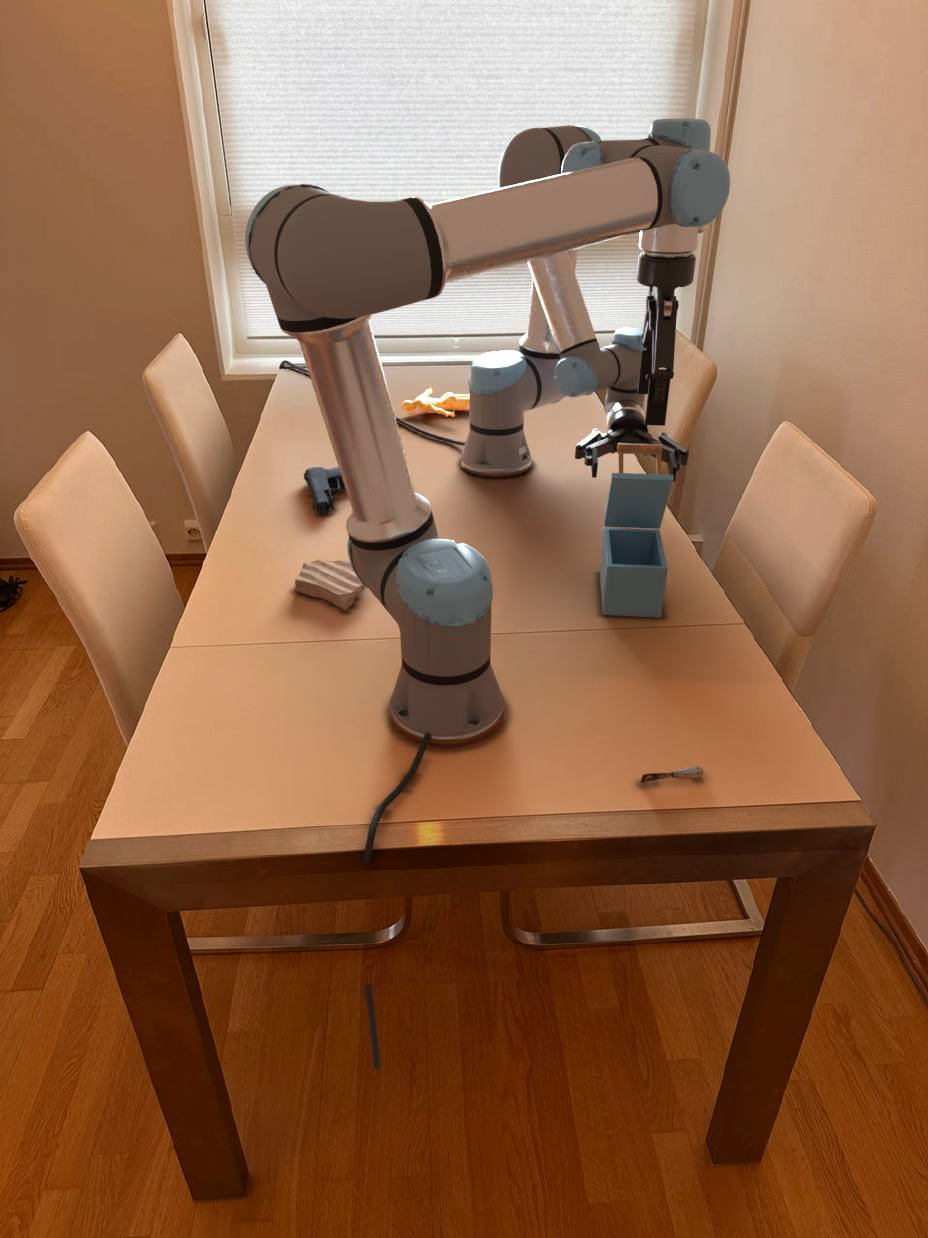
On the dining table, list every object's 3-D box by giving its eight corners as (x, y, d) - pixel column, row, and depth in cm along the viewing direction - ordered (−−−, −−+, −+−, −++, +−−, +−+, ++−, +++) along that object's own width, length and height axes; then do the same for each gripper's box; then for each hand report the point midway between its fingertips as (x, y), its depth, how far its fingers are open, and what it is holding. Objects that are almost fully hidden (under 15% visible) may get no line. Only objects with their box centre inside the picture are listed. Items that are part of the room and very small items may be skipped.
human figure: (395, 413, 223) (394, 398, 221) (438, 390, 237) (438, 375, 235) (462, 429, 215) (462, 413, 213) (502, 404, 229) (503, 388, 227)
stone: (382, 577, 152) (381, 564, 151) (347, 611, 143) (346, 598, 142) (316, 564, 157) (314, 551, 155) (279, 596, 147) (277, 583, 146)
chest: (661, 617, 141) (667, 568, 137) (602, 615, 142) (607, 566, 137) (653, 575, 153) (659, 529, 148) (599, 573, 154) (603, 527, 149)
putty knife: (703, 777, 109) (705, 767, 109) (642, 788, 108) (644, 777, 107) (700, 772, 110) (702, 762, 109) (639, 782, 109) (640, 771, 108)
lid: (673, 479, 135) (672, 433, 138) (612, 477, 135) (612, 431, 139) (660, 528, 148) (659, 485, 151) (603, 526, 148) (604, 483, 152)
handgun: (374, 509, 176) (313, 517, 173) (359, 474, 190) (302, 481, 188) (373, 494, 174) (311, 502, 172) (358, 460, 188) (301, 466, 186)
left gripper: (709, 271, 107) (687, 439, 118) (685, 236, 128) (668, 382, 139) (646, 270, 108) (630, 438, 119) (632, 236, 129) (619, 381, 140)
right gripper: (689, 448, 173) (703, 496, 156) (560, 441, 175) (560, 488, 157) (695, 411, 169) (711, 456, 152) (563, 405, 171) (564, 448, 153)
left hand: (650, 408), depth 129 cm, fingers open, 13 cm apart
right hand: (634, 472), depth 154 cm, fingers open, 13 cm apart
